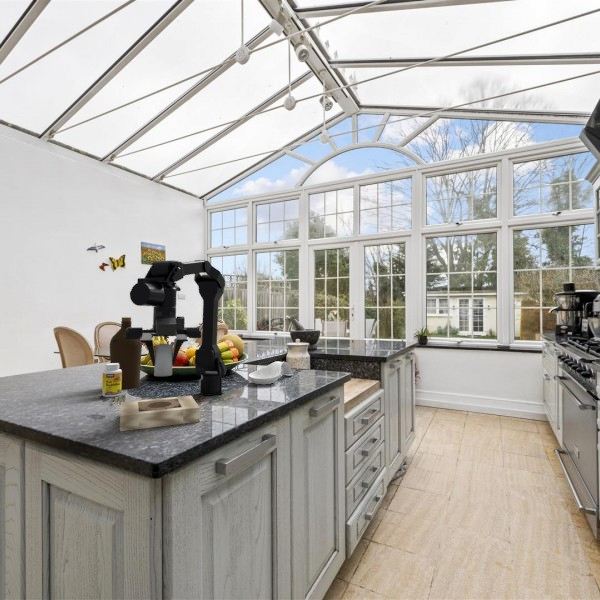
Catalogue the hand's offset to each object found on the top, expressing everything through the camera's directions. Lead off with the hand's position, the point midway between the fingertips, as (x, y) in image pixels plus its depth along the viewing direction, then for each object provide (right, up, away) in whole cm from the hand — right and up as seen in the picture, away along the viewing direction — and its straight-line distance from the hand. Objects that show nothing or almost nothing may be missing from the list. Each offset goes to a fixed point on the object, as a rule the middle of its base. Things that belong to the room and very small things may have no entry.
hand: (163, 365), depth 99 cm
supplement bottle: (-25, -14, +21) cm, 35 cm away
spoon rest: (+26, -15, +47) cm, 55 cm away
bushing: (0, -3, 0) cm, 2 cm away
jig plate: (0, -13, -3) cm, 14 cm away
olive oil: (-26, -14, +35) cm, 46 cm away
